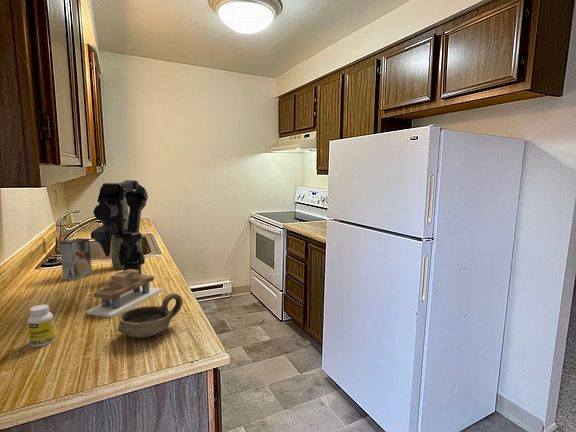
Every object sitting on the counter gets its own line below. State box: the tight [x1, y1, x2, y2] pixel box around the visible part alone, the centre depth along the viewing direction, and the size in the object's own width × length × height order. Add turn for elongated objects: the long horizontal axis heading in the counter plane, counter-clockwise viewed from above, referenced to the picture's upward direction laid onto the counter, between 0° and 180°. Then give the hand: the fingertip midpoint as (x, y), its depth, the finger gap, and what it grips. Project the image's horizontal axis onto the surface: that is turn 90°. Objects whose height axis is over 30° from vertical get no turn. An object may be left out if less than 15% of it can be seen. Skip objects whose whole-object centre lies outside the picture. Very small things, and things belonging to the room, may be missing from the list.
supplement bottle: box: [27, 304, 56, 348], centre depth 86 cm, size 5×5×10 cm
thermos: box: [111, 197, 129, 271], centre depth 152 cm, size 9×12×35 cm
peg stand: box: [85, 282, 163, 319], centre depth 114 cm, size 24×10×5 cm, turn 164°
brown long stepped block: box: [93, 269, 155, 300], centre depth 113 cm, size 20×7×6 cm, turn 164°
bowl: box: [117, 292, 183, 338], centre depth 92 cm, size 14×18×10 cm
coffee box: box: [59, 237, 93, 281], centre depth 139 cm, size 9×6×16 cm
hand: (117, 257), depth 123 cm, fingers open, 9 cm apart
